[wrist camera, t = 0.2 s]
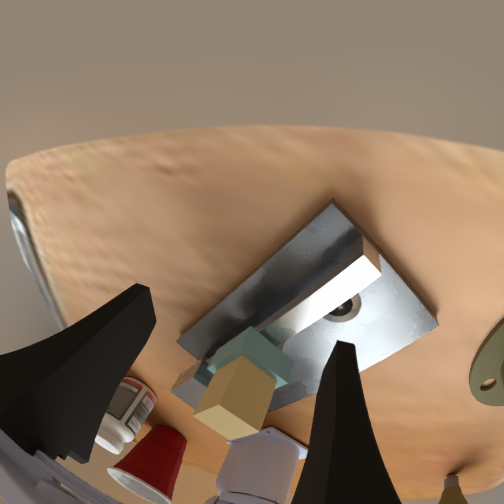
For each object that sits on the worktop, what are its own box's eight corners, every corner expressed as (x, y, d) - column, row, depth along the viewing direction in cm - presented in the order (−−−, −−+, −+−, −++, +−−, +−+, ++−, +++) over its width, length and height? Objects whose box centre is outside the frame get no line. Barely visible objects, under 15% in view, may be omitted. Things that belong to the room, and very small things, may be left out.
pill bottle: (118, 382, 38) (81, 431, 30) (129, 369, 35) (86, 425, 27) (150, 406, 39) (116, 458, 30) (164, 397, 36) (127, 455, 27)
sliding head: (266, 357, 24) (231, 445, 17) (229, 327, 24) (182, 412, 17) (300, 336, 22) (272, 434, 15) (261, 302, 22) (216, 397, 15)
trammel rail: (223, 379, 28) (204, 418, 24) (191, 354, 28) (167, 392, 23) (394, 270, 18) (402, 318, 14) (353, 225, 18) (353, 266, 14)
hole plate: (271, 404, 30) (268, 413, 29) (180, 335, 28) (175, 342, 27) (436, 316, 20) (439, 326, 19) (332, 198, 18) (331, 204, 17)
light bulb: (451, 466, 28) (450, 525, 20) (474, 468, 27) (475, 522, 19) (427, 480, 31) (424, 534, 23) (450, 481, 30) (449, 532, 22)
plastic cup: (198, 430, 38) (162, 497, 27) (205, 457, 43) (177, 513, 33) (133, 404, 40) (94, 462, 30) (149, 436, 45) (118, 485, 35)
